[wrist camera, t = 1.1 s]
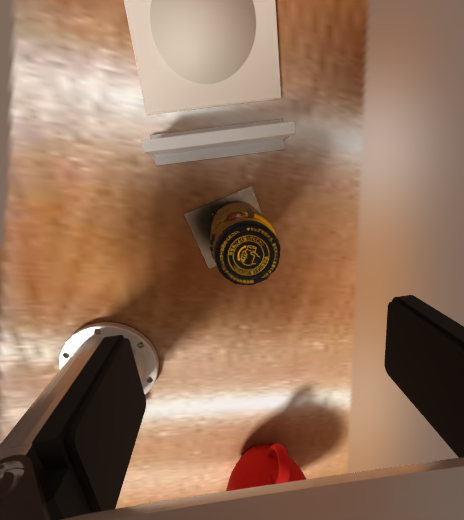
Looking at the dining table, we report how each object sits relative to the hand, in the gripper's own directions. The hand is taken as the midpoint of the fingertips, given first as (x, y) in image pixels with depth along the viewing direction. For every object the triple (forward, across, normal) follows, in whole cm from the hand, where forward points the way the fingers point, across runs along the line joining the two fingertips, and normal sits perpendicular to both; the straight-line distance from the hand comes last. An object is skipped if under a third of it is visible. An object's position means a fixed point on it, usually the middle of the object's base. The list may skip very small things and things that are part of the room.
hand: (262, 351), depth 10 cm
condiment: (+24, 0, 0) cm, 24 cm away
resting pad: (+24, 0, -20) cm, 31 cm away
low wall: (+24, 0, -9) cm, 26 cm away
